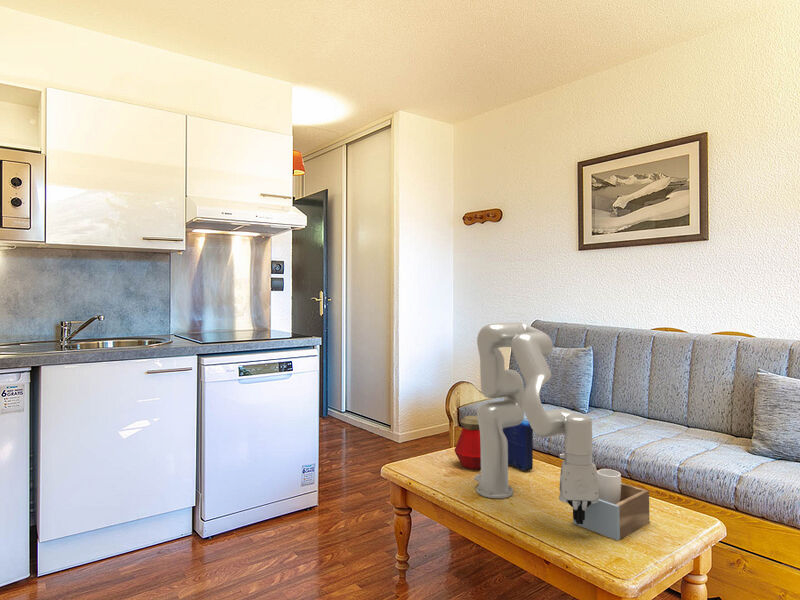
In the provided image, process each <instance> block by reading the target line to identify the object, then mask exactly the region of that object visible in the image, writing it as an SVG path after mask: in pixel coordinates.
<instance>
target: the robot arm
mask: <svg viewBox="0 0 800 600" xmlns="http://www.w3.org/2000/svg"><path fill="white" fill-rule="evenodd" d="M476 338H477V339H476V344H477V349H478V356H479V367H480V368H479V369H480V370H479V371H480V390H481V394H482V395H483V396H484V397H485V398H488V399H498V398H503V400H496V401H489V402H486V403H483V404H482V405H481V406H479V408H478V409H477V412H476V416H477V419H478V424H479V429H480V447H481V469H480V473H479V472H478V473H477V474H476V475H475V476H474V477H473V480H474V481H476V482H478V485H477V486H476V492H477V493H478V494H479V495H480V496H482V497H484V498H490V499H506V498H509V497H511V496H512V495H513V494H514V489H513V487H511V486H510V485H509V465H508V442H507V438H506V436H505V434H504V433H503V428H507V427H513V426H517V425H519V424H521V423H522V421H523V420H525V416H526V420H527V421H529V424H530V426H531V428H532V429H533V433H534V434H536V435H537V436H538V437H541V438H543V439H545V438H551V437H557V436H564V437H563V440H564V445H563V447H564V450H563V452H562V453H559V455H558V456H559V459H562V460H563V461H562V462H561V468H560V476H559V492H560V493H559V496H558V499H559V501H560V502H562V503H566V504H568V505H569V506H570V507H571V508H572V520H573V519H574V520H575V521H576V523H577V524H583V520H585V510H586V508H587V507H588V506H589V505H590V504H594V503H598V502H599V500H598V499H599V487H598V477H597V471H598V470H597V466H596V464H595V463H594V462H593V422H592V418H591V417H590V416H588V415H586V414H583V413H582V414H580V413H576V412H574V411H572V410H570V409H567V408H557V409H549V410H545V408H544V407H543V405H542V401H541V398H540V396H541V395H540V392H541V390H542V389H541V388H542V387H543V385H544V384H546V383H547V382H549V380H550V379H551V378H552V372H551V369H550V368H549V365H548V363H547V361H546V359H545V358H546V357H549V356H550V355H551V354H552V352H553V351H554V350H553V349H554V345H553V341H552V339H551V337H550V336H549V335H548V334H547V333H545V332H544V331H541V330H539V329H538V328H535V327H532V326H531V325H528V324H526V323H522V322H495V323H490V324H486V325H484V326H482V328H481V329H480V330H479V331H478V334H477V337H476ZM500 348H510V349H511V352H512V355H513V357H514V359H515V361H516V363H517V366H518V368H519V370H520V373H521V374H520V373H519V372H518V371H517V370H514V369H505V358H504V355H503V353H502V351H501V350H500ZM522 377H523V378H522ZM524 382H525V384H524ZM524 385H525V386H524ZM577 501H580V505H579V506H577Z"/></svg>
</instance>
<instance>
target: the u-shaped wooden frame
mask: <svg viewBox="0 0 800 600" xmlns="http://www.w3.org/2000/svg"><path fill="white" fill-rule="evenodd" d="M616 505H619V510H620V540H622V539H623V538H625V537H627V536H628V535H630V534H632V533H634V532H636V531H637V530H639V529H640V528H643V527H645V526H646V525H647V524H649V523H650V490H648V489H644V488H641V487H637V486H635V485H631V484H627V483H624V482H621V497H620V502H619V503H617V504H616Z"/></svg>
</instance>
